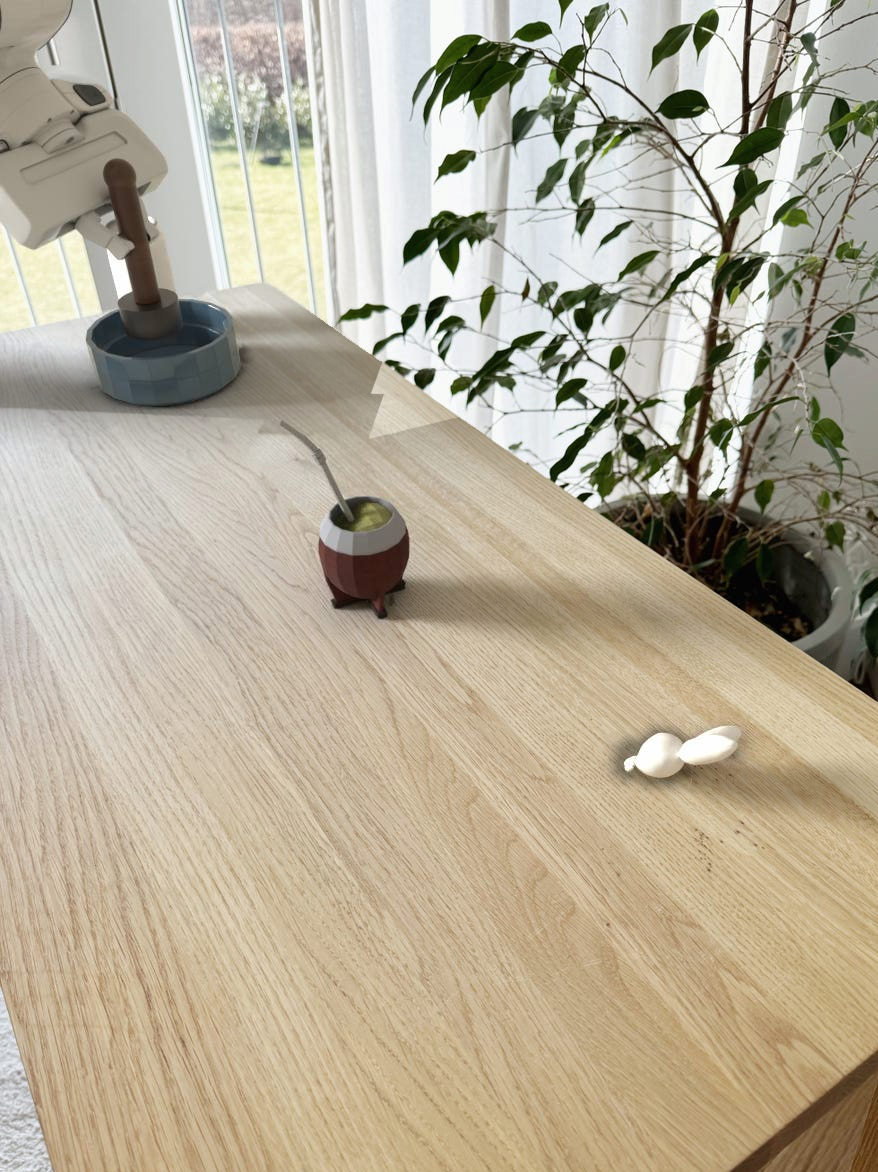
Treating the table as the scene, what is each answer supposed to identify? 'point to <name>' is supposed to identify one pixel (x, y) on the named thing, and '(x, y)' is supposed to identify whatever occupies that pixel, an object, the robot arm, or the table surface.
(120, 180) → the wooden handled press
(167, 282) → the can
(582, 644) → the table surface
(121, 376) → the bowl
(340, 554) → the mate gourd
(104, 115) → the robot arm
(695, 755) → the rabbit figurine
